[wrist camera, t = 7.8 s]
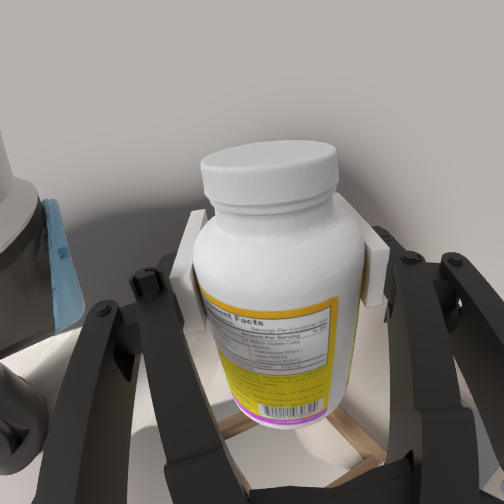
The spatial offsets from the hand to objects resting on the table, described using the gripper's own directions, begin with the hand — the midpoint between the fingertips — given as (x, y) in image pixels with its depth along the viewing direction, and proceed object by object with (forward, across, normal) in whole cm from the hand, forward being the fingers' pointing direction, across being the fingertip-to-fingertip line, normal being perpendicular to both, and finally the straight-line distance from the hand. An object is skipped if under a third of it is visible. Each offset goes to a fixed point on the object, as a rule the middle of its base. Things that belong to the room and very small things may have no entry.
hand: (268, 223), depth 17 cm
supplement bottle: (-5, 0, -8) cm, 9 cm away
